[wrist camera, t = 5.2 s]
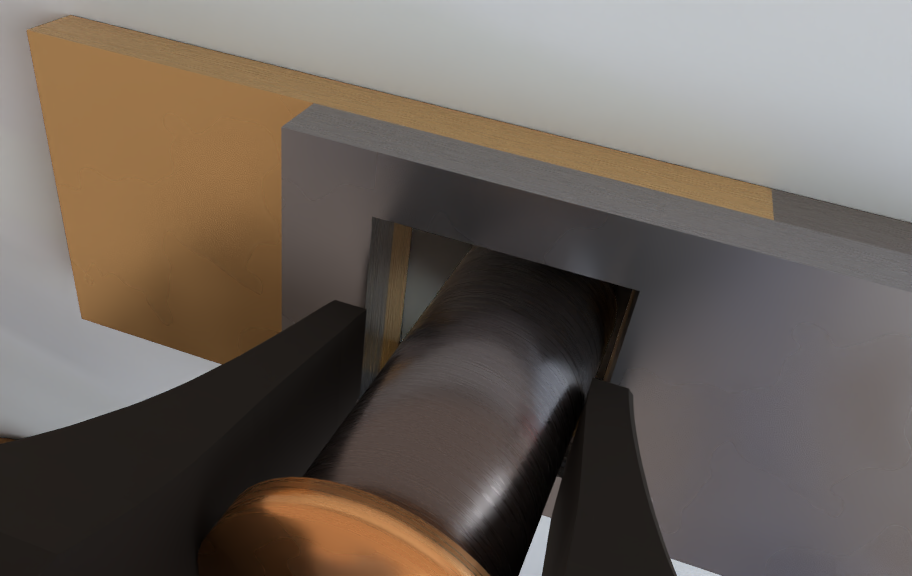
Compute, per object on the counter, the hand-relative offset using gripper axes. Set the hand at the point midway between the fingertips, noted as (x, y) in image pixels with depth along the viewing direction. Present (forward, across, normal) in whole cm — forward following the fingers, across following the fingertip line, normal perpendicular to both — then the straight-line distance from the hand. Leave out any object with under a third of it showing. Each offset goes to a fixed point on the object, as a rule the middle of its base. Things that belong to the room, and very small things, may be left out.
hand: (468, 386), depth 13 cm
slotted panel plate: (+3, 0, 0) cm, 3 cm away
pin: (+2, -1, 0) cm, 3 cm away
